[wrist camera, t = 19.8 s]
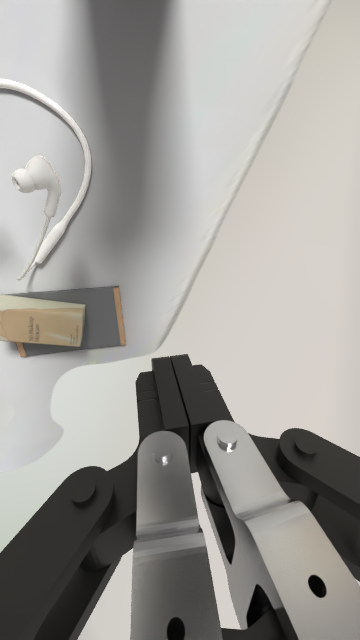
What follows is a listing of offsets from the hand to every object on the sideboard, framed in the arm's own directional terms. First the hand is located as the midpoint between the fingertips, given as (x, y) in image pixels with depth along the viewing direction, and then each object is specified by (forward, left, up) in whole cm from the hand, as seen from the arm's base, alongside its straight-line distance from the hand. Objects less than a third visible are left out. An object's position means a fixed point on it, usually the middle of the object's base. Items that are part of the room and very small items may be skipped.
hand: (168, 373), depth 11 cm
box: (+10, -8, -26) cm, 30 cm away
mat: (+11, -11, -29) cm, 33 cm away
